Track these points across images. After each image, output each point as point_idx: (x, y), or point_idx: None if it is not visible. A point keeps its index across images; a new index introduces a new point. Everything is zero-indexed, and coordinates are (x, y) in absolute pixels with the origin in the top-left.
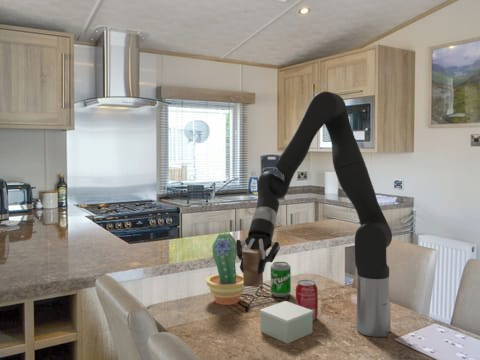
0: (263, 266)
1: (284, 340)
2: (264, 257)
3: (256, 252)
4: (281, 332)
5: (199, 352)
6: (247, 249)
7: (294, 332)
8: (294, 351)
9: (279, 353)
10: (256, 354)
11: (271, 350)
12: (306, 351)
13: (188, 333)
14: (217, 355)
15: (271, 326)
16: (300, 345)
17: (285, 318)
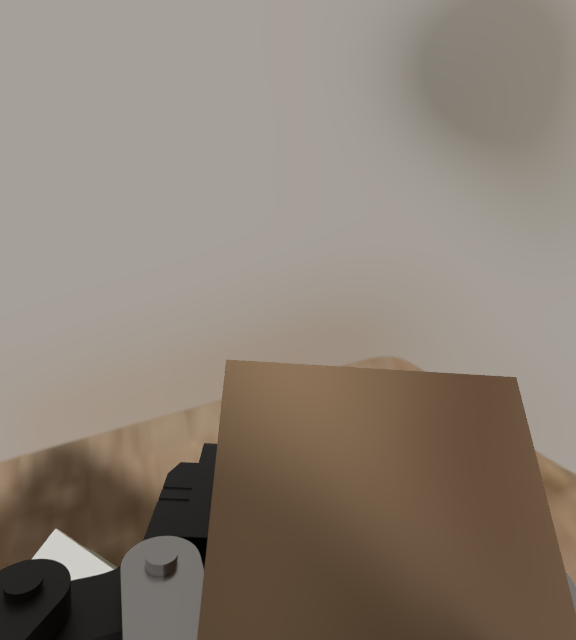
0: (160, 499)
1: (107, 561)
2: (130, 564)
3: (250, 384)
4: (114, 568)
5: (416, 366)
6: (563, 637)
7: None
8: (60, 479)
9: (124, 443)
10: (214, 409)
11: (160, 459)
12: (4, 496)
13: (563, 508)
14: (347, 364)
15: None
16: (28, 551)
17: (66, 562)
